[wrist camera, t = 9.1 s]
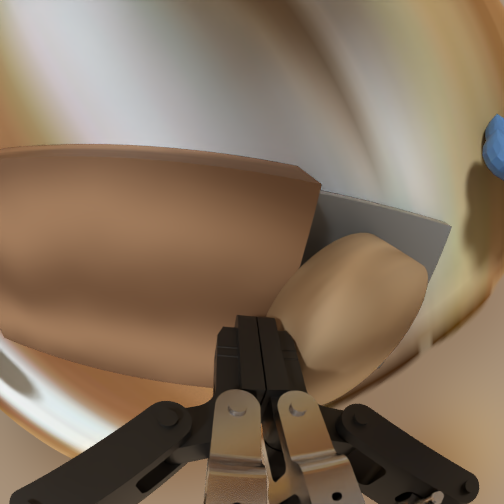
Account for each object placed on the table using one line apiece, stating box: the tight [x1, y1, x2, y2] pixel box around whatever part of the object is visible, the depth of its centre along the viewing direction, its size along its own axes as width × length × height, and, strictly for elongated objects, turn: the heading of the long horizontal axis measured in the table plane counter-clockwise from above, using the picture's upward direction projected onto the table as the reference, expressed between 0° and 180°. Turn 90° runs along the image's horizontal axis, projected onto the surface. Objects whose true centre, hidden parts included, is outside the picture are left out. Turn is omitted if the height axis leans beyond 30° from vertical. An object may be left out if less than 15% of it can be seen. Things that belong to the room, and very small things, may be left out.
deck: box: [0, 144, 322, 388], centre depth 13 cm, size 12×18×4 cm, turn 80°
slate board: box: [300, 190, 451, 368], centre depth 17 cm, size 13×11×1 cm
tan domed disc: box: [266, 233, 428, 405], centre depth 13 cm, size 9×9×3 cm
